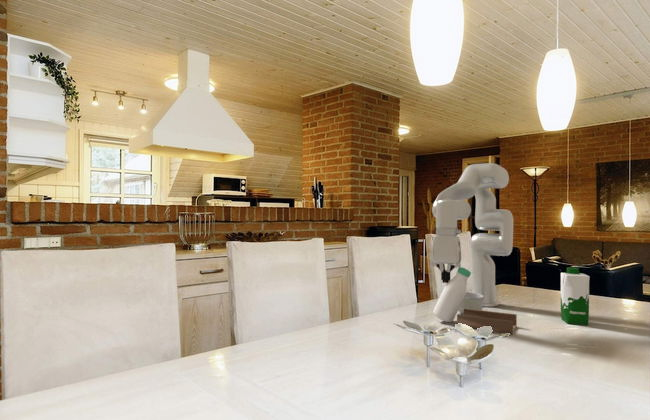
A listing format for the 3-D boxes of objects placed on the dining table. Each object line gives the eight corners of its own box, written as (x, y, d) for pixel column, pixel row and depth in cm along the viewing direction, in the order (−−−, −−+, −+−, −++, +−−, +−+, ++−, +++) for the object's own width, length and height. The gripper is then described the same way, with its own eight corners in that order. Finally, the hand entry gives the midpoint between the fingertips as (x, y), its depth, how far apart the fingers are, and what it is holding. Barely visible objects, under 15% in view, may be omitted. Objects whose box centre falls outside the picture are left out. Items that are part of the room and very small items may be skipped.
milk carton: (583, 320, 162) (583, 267, 162) (592, 326, 153) (592, 270, 153) (558, 318, 164) (558, 266, 164) (565, 324, 155) (565, 269, 155)
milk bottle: (453, 325, 154) (476, 277, 149) (432, 316, 155) (455, 268, 151) (451, 317, 161) (474, 271, 157) (432, 308, 162) (454, 262, 158)
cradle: (464, 320, 160) (464, 308, 160) (516, 326, 151) (516, 314, 151) (456, 327, 149) (457, 314, 149) (512, 335, 140) (512, 321, 140)
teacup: (479, 311, 175) (479, 292, 175) (486, 317, 164) (486, 297, 164) (444, 310, 177) (445, 291, 177) (450, 316, 166) (450, 296, 166)
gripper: (469, 233, 157) (468, 283, 157) (429, 232, 165) (428, 279, 164) (464, 233, 151) (464, 285, 150) (423, 232, 158) (422, 281, 158)
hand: (445, 282), depth 157 cm, fingers closed
